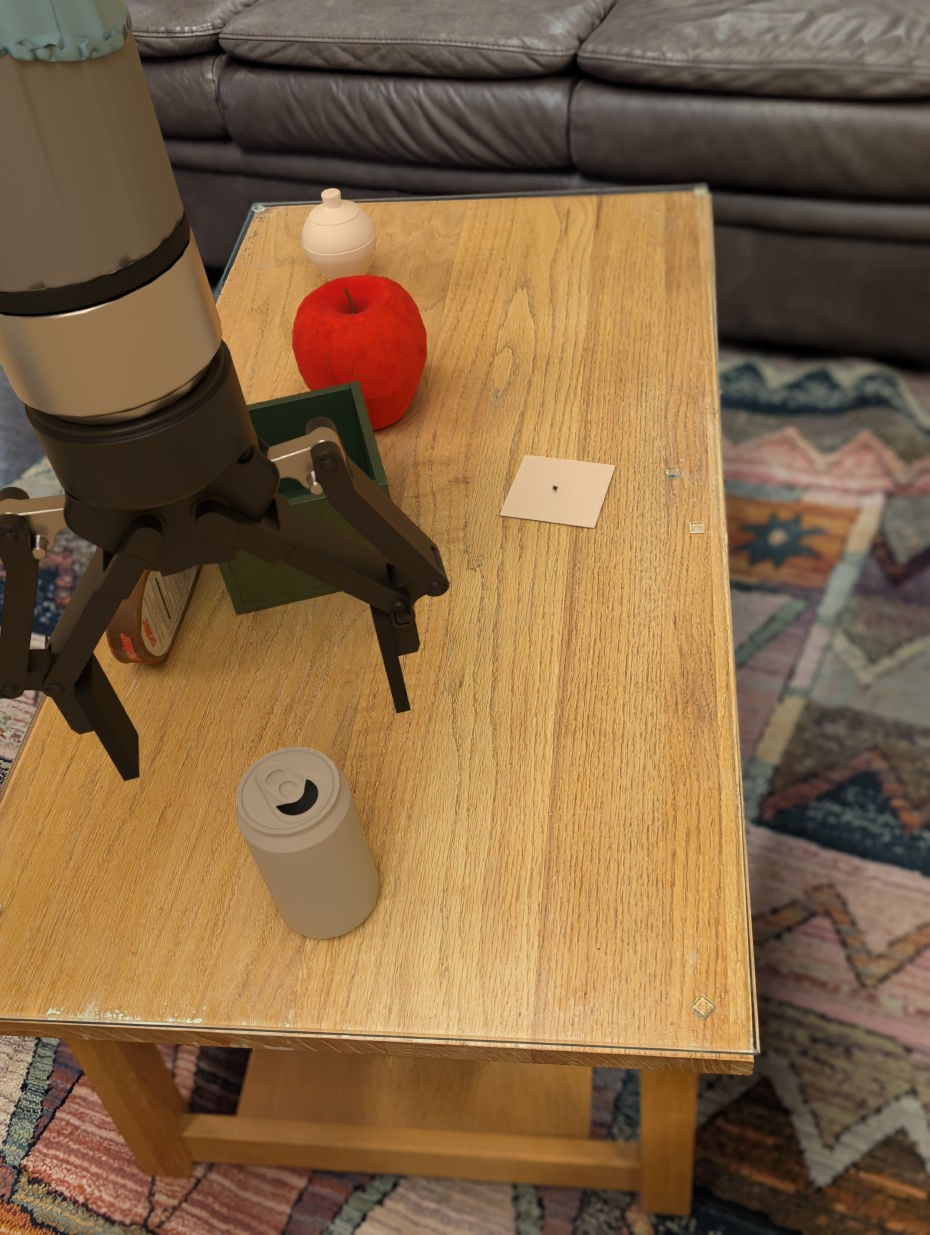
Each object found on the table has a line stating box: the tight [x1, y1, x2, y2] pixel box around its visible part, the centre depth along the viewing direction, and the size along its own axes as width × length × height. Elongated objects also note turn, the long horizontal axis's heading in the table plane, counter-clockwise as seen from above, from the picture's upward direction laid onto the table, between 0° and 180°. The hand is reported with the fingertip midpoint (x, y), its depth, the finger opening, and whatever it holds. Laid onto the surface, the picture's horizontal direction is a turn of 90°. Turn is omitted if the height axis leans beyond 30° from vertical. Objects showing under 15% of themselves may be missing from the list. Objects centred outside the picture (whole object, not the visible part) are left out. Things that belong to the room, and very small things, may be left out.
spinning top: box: [300, 188, 378, 282], centre depth 110 cm, size 8×8×12 cm
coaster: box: [498, 454, 616, 529], centre depth 90 cm, size 8×8×1 cm
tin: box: [104, 565, 201, 665], centre depth 82 cm, size 15×3×8 cm, turn 174°
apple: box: [291, 274, 428, 431], centre depth 95 cm, size 12×12×13 cm
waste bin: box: [217, 381, 392, 616], centre depth 86 cm, size 14×14×10 cm
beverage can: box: [235, 745, 380, 940], centre depth 62 cm, size 6×6×12 cm
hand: (266, 725), depth 54 cm, fingers open, 13 cm apart
